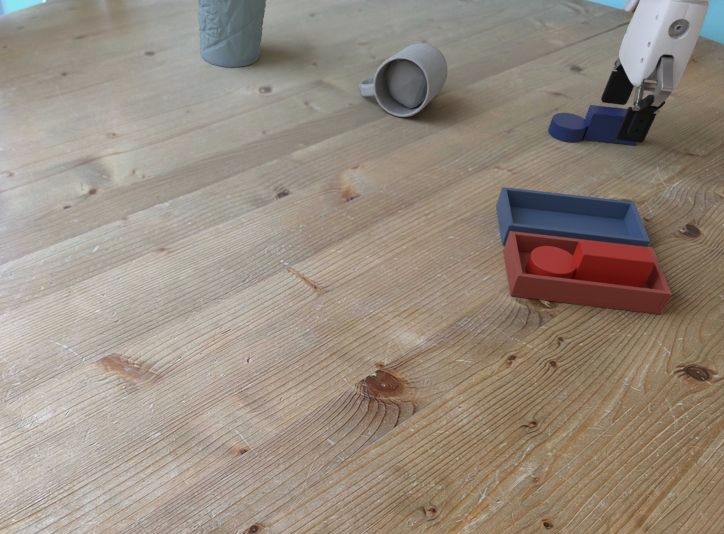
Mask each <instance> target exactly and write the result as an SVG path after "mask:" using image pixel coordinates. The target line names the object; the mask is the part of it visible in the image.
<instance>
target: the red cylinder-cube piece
mask: <svg viewBox="0 0 724 534" xmlns="http://www.w3.org/2000/svg"><path fill="white" fill-rule="evenodd" d="M654 263H655V262H654V260H653V257H652V255H651V252H650V250H649V248H647V247H638V246H630V245H621V244H613V243H604V242H595V241H587V240H579V242H578V245H577V247H576V250H575V252H574V254H573V256H572V255H571V254H570V253H569V252H567V251H565V250H563V249H560V248H557V247H553V246H541V247H537V248H535V249H534V250H533V251H532V252H531V254H530V257H529V260H528V262H527V265H526V273H527V274H532V275H541V276H549V277H557V278H566V279H574V280H582V281H590V282H599V283H607V284H615V285H624V286H632V287H640V288H642V286H643V284H644V282H645V280H646V278H647V276H648V274H649V273H650V271H651V269H652V267H653V265H654Z"/></svg>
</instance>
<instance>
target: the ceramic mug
mask: <svg viewBox="0 0 724 534" xmlns="http://www.w3.org/2000/svg"><path fill="white" fill-rule="evenodd" d="M448 71H449V70H448V63H447V60H446V57H445V55H444V54H443V53H442V51H441V50H440V49H438V48H437V47H435V46H434V45H432V44H429V43H423V42H421V43H414V44H411V45H409V46H406V47H404V48H403V49H401V50H400V51H399V52H396V53H395V54H394V55H392V56H389V57H388V58H387V59H386V60H384V61H383V62H382V63H381V64H380V65H379V67H378V68H377V70H376V71H375V73H374V75H372V76H370V77H367V78H365V79H363V80H362V81H361V82H359V85H358V87H359V92H360V94H361V96H362V97H366V98H367V97H375V100H376V101H377V104H379V106H380V107H381V108H382V109H383V110H384V111H385V112H387V113H388V114H390V115H392V116H395V117H397V118H407V117H412V116H415V115H417V114H418V113H420V112H421V111H422V110H423V109H425V107H426V106H427V105H428V104H429V103H430V102H431V101H432V100H433V99H434V98H435V97H436V96H437V95H438V94H439V93H440V91H441V90H442V89H443V88H444V85H445V84H446V81H447V78H448Z"/></svg>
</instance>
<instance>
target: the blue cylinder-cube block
mask: <svg viewBox="0 0 724 534" xmlns="http://www.w3.org/2000/svg"><path fill="white" fill-rule="evenodd" d="M627 109H628V108H623V107H615V106H605V105H604V106H603V105H595V104H589V107H588V109H587V112H586V114H585V117H583V116H580V115H578V114H575V113H571V112H559V113H558V112H557V113H555V114H554V115H552V118H551V121H550V123H549V126H548V129H547V131H548V134H549V135H550V136H551V137H553V138H555V139H556V140H559V141H562V142H565V143H577V142H581V141H582V140H583V141H591V142H599V143H608V144H610V143H611V144H617V145H618V144H619V145H628V146H636V145H637V143H638V142H630V141H622V140H618V139H617V137H616V134H617V132H618V130H619V128H620V125H621V123H622V121H623V119H624V116H625V114H626V112H627Z"/></svg>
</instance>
